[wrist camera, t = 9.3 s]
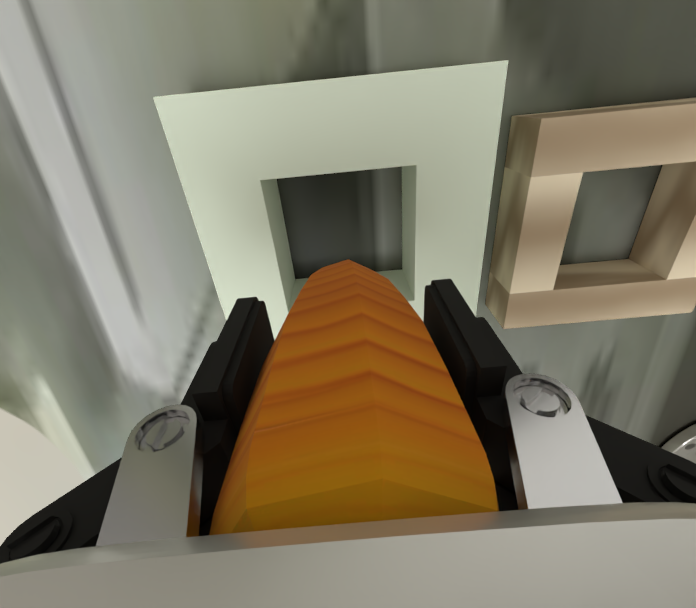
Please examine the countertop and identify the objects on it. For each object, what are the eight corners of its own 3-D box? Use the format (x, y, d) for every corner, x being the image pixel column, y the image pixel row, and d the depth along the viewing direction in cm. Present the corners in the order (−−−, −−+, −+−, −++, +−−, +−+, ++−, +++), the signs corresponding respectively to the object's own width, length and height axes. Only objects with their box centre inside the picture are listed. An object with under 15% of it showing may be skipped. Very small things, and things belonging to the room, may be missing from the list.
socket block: (652, 289, 23) (691, 312, 21) (485, 304, 24) (503, 329, 21) (736, 93, 18) (805, 92, 15) (511, 115, 18) (541, 118, 15)
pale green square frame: (452, 309, 24) (472, 345, 20) (254, 327, 24) (241, 365, 21) (472, 68, 17) (508, 60, 13) (190, 97, 17) (152, 97, 13)
